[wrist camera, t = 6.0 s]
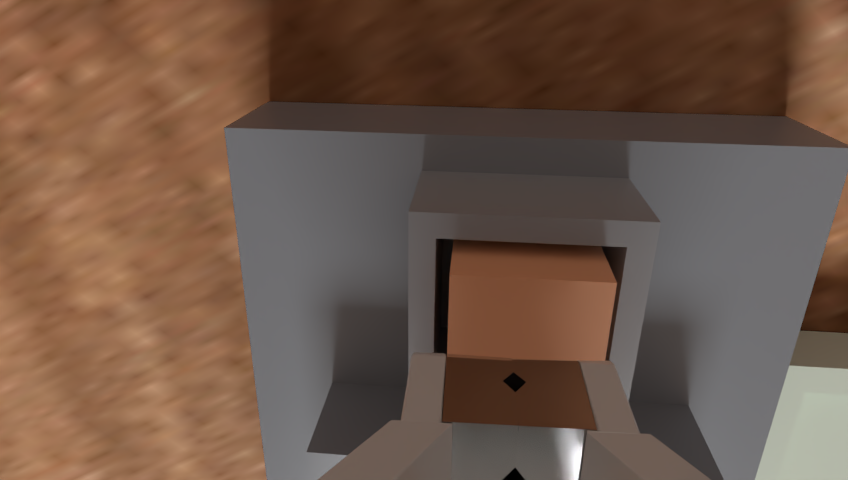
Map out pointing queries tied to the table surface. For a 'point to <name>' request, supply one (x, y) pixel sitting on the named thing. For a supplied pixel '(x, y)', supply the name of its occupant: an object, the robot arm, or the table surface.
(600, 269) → the plunger
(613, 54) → the table surface
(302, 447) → the housing
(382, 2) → the table surface
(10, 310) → the table surface
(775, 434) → the tray
